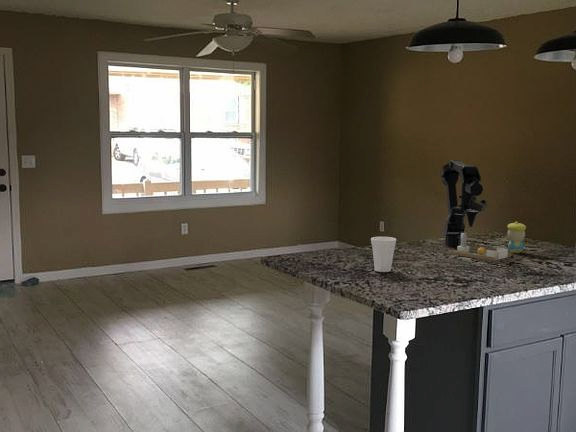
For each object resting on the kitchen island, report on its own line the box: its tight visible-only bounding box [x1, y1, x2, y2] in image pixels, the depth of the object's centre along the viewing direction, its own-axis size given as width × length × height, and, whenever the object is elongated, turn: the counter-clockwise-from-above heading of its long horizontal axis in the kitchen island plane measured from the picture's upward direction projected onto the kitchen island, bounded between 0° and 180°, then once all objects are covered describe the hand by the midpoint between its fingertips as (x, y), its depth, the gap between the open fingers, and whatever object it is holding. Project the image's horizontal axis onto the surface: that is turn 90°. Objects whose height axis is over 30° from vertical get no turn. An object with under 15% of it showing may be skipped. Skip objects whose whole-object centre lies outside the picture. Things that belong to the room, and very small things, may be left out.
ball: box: [477, 246, 486, 255], centre depth 278 cm, size 4×4×4 cm
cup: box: [370, 236, 397, 273], centre depth 247 cm, size 10×10×13 cm
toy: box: [507, 221, 527, 254], centre depth 285 cm, size 8×9×15 cm
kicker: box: [456, 232, 470, 252], centre depth 284 cm, size 4×4×8 cm
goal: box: [486, 247, 509, 261], centre depth 273 cm, size 5×10×4 cm, turn 134°
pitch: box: [447, 246, 512, 262], centre depth 279 cm, size 22×16×2 cm
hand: (465, 228), depth 283 cm, fingers open, 9 cm apart
